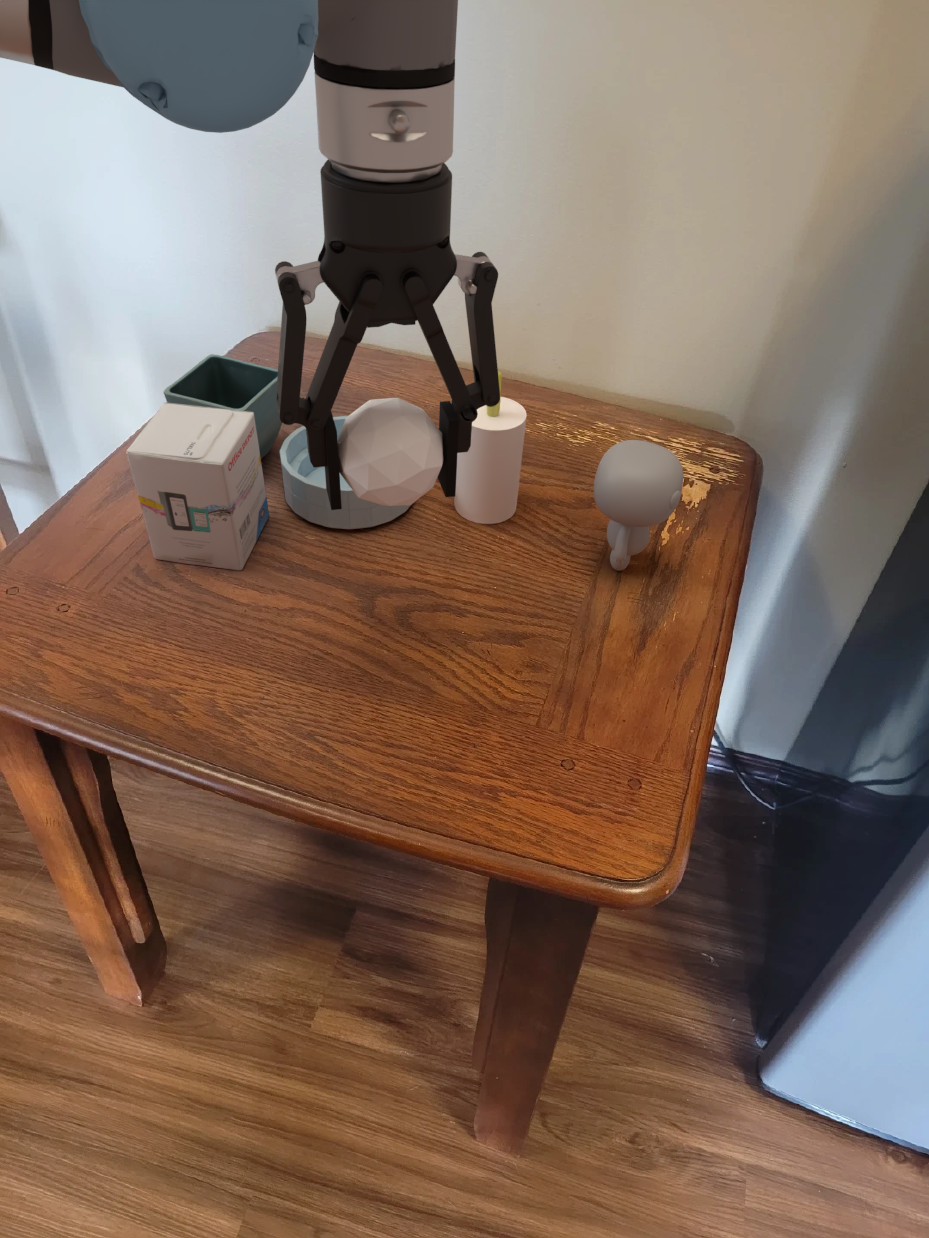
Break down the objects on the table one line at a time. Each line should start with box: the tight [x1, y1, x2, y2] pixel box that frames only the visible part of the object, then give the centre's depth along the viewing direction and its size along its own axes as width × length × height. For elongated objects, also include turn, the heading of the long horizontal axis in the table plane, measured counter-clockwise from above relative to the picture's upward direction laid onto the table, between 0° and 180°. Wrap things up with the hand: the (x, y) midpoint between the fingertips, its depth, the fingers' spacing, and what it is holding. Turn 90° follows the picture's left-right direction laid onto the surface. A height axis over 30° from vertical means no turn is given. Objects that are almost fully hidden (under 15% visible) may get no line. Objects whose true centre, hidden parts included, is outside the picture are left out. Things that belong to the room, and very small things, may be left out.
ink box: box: [125, 401, 270, 571], centre depth 76 cm, size 8×8×12 cm
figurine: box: [593, 439, 685, 572], centre depth 76 cm, size 8×8×12 cm
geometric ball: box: [338, 397, 444, 506], centre depth 61 cm, size 8×8×8 cm
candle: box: [453, 371, 527, 525], centre depth 81 cm, size 6×6×15 cm
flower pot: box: [162, 353, 283, 460], centre depth 87 cm, size 9×9×9 cm
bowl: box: [279, 415, 412, 530], centre depth 84 cm, size 13×13×5 cm
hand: (390, 492), depth 64 cm, fingers closed on geometric ball, 8 cm apart
